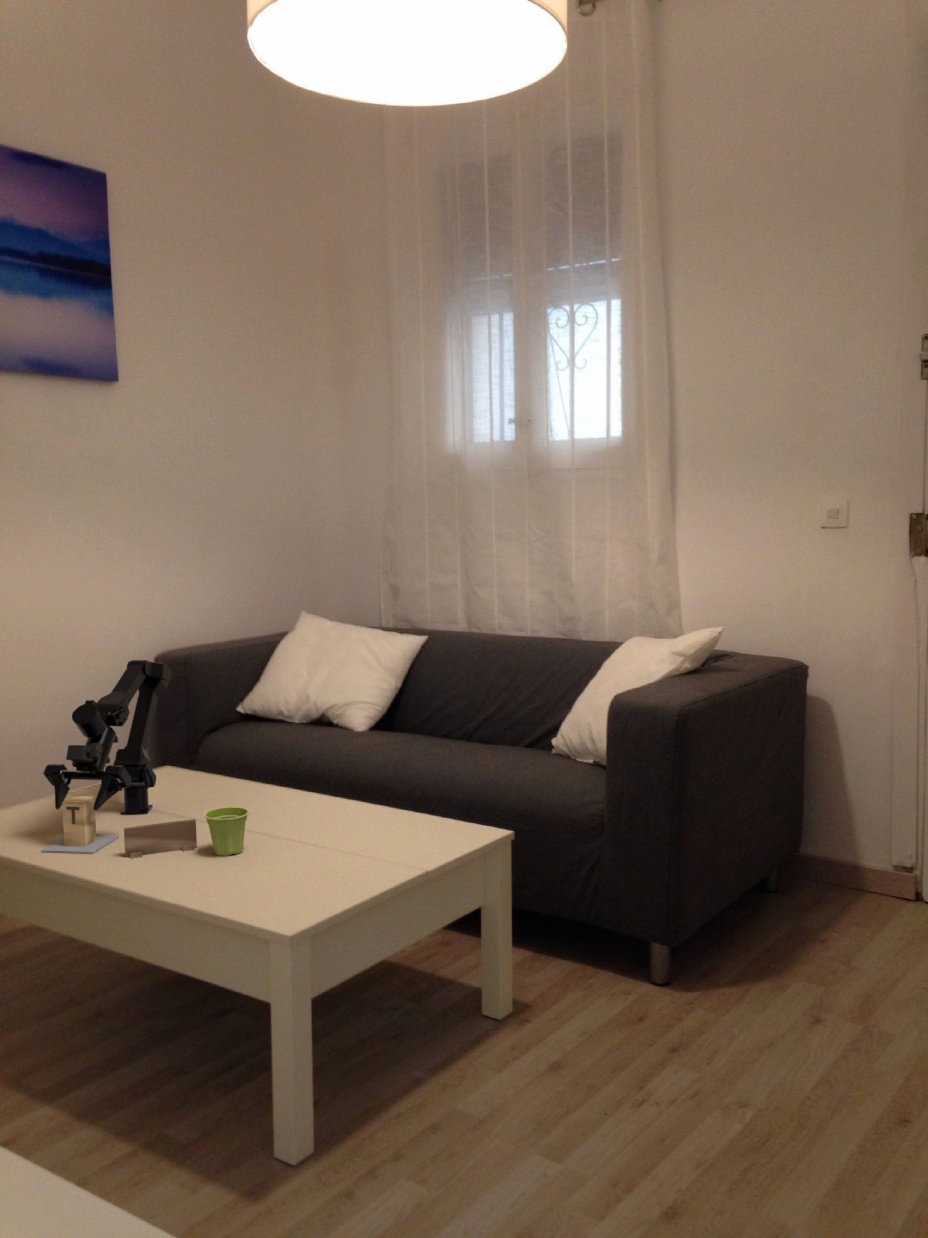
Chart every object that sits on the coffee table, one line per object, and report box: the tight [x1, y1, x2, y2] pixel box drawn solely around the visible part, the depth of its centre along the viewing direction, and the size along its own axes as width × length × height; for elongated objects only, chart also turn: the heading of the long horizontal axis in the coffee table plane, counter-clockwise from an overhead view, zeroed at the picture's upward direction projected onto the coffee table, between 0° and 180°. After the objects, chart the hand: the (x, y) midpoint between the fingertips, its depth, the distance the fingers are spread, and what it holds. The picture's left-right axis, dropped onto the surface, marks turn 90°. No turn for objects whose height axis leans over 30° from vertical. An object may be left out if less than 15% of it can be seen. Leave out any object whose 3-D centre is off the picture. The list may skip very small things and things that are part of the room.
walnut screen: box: [123, 818, 198, 859], centre depth 242 cm, size 4×15×6 cm, turn 114°
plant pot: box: [203, 806, 250, 857], centre depth 241 cm, size 9×9×9 cm
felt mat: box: [41, 834, 120, 855], centre depth 248 cm, size 12×12×1 cm
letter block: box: [61, 795, 97, 847], centre depth 247 cm, size 5×5×10 cm
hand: (75, 809), depth 246 cm, fingers open, 9 cm apart
